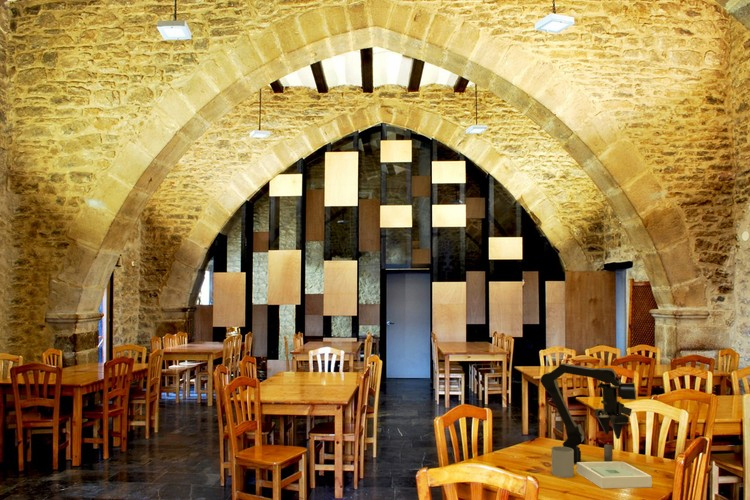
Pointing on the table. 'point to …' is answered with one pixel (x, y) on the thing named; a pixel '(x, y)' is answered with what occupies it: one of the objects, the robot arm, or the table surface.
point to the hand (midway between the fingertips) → (612, 436)
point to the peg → (607, 453)
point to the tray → (615, 479)
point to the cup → (562, 461)
